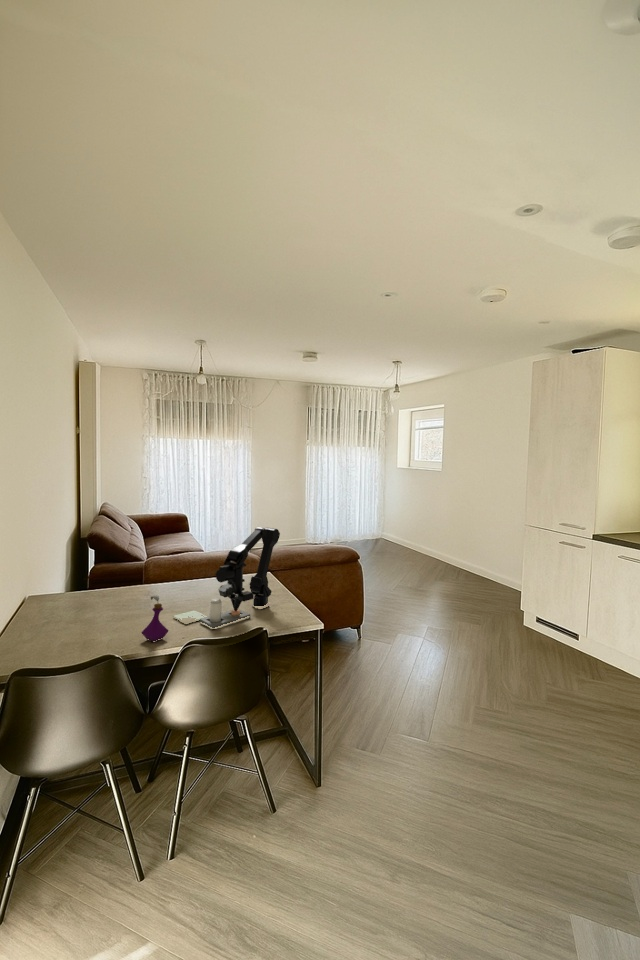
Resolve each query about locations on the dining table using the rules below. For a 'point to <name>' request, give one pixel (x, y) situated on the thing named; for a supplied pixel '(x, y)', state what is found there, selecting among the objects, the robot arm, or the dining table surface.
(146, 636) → the perfume bottle
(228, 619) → the dark grey base plate
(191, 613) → the sage pad
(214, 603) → the cylinder
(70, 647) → the dining table surface
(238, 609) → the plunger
